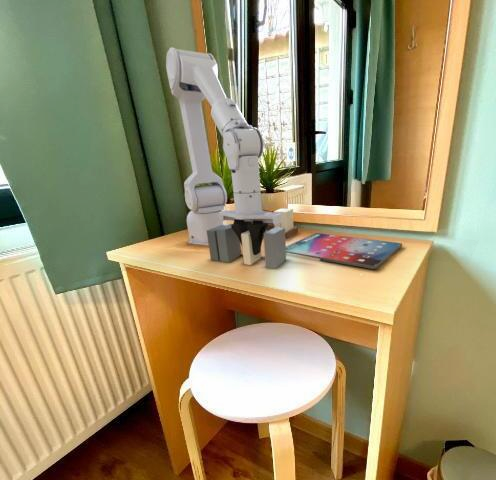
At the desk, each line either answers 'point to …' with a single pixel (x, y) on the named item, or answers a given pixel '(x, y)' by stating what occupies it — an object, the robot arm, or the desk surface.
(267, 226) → the book tray
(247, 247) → the white book
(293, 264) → the desk surface
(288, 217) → the white books
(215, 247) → the grey books
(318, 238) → the tablet
